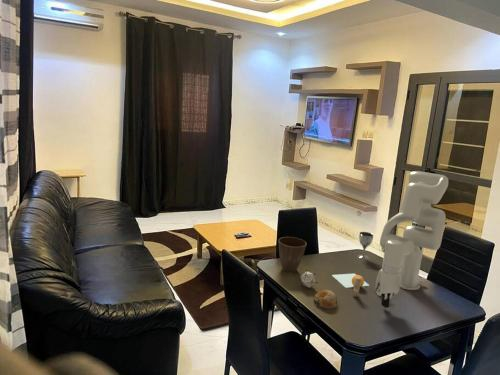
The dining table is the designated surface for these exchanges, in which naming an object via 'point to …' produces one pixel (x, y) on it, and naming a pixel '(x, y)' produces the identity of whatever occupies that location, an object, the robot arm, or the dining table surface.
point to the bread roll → (326, 299)
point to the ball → (360, 281)
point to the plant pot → (291, 252)
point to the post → (356, 286)
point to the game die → (308, 279)
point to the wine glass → (365, 242)
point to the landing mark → (347, 280)
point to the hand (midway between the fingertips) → (384, 306)
